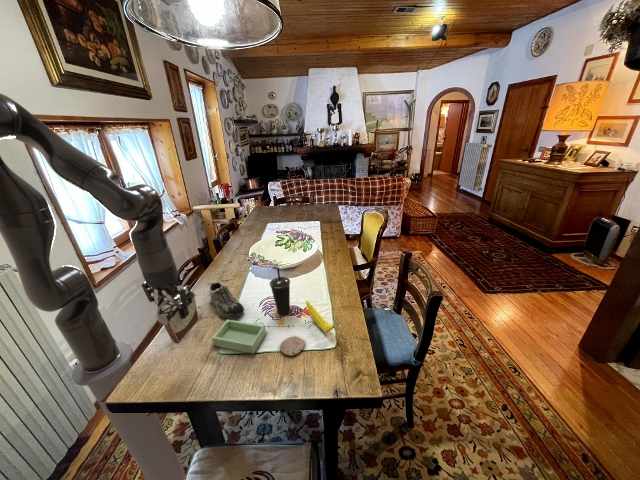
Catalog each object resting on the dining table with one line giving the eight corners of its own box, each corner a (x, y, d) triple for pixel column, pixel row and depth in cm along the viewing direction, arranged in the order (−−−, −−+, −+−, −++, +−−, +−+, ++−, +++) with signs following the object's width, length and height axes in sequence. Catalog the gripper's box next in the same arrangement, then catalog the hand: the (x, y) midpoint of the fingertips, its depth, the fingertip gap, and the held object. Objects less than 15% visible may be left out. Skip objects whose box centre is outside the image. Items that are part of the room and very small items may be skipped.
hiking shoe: (229, 325, 94) (224, 305, 90) (204, 302, 108) (199, 283, 104) (249, 314, 100) (245, 294, 96) (222, 293, 113) (218, 275, 110)
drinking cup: (276, 320, 96) (269, 275, 88) (272, 308, 103) (265, 265, 94) (295, 314, 99) (290, 270, 90) (290, 302, 105) (285, 260, 97)
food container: (184, 315, 81) (175, 289, 76) (201, 316, 80) (194, 290, 75) (155, 345, 69) (143, 317, 65) (175, 347, 68) (164, 319, 64)
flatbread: (286, 360, 79) (286, 358, 79) (276, 344, 85) (276, 342, 85) (309, 348, 83) (308, 346, 82) (298, 334, 89) (298, 332, 88)
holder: (214, 345, 86) (211, 337, 84) (229, 326, 94) (227, 319, 92) (253, 353, 82) (252, 345, 81) (266, 333, 90) (265, 325, 89)
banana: (310, 308, 101) (309, 295, 98) (338, 339, 86) (337, 324, 84) (303, 311, 100) (302, 298, 97) (331, 342, 85) (330, 328, 82)
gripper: (122, 268, 64) (143, 320, 71) (169, 275, 60) (186, 328, 67) (148, 254, 70) (165, 303, 77) (191, 259, 67) (205, 310, 74)
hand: (175, 314), depth 72 cm, fingers closed on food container, 6 cm apart
